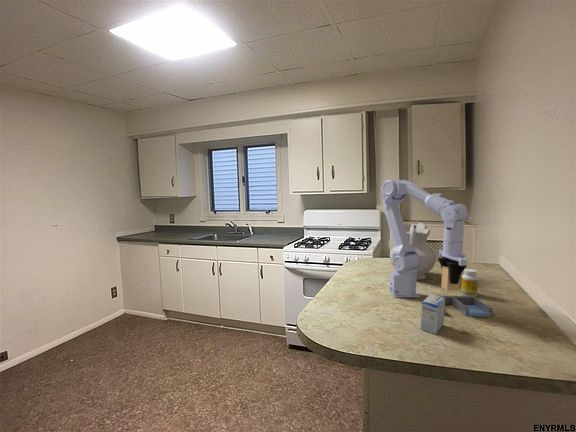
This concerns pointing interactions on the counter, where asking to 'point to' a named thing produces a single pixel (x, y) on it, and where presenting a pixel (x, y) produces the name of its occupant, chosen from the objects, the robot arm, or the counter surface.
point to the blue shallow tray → (470, 310)
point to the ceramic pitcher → (420, 247)
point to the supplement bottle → (469, 283)
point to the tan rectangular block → (448, 280)
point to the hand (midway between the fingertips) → (450, 281)
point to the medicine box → (432, 313)
